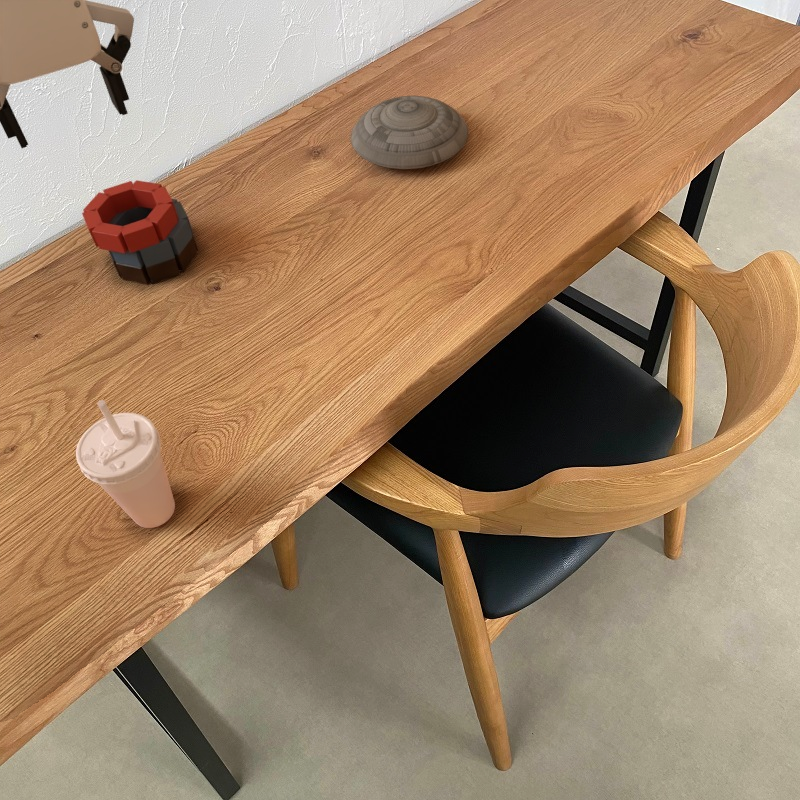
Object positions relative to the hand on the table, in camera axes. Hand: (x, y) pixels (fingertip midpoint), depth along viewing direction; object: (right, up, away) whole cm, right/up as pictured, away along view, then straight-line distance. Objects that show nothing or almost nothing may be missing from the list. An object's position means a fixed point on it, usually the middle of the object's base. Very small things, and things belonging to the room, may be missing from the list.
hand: (72, 124), depth 76 cm
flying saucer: (+33, +6, +26) cm, 42 cm away
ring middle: (+3, -8, +13) cm, 16 cm away
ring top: (+2, -7, +11) cm, 13 cm away
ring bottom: (+4, -10, +15) cm, 18 cm away
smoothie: (+10, -36, -7) cm, 38 cm away
